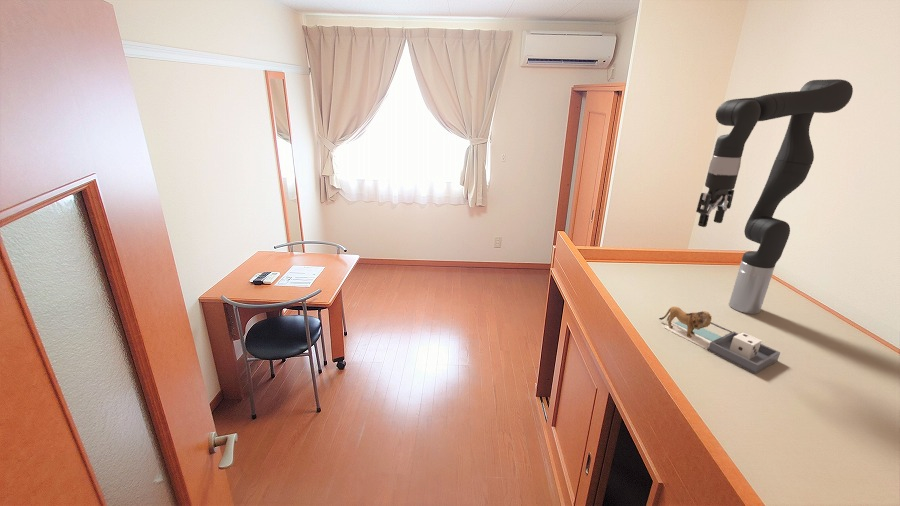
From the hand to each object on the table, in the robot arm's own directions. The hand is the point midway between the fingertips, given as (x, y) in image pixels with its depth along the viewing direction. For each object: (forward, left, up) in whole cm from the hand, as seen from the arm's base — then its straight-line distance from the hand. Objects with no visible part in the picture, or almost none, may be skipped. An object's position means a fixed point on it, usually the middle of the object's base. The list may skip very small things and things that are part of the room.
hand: (709, 224), depth 124 cm
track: (+5, +7, -33) cm, 34 cm away
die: (+7, +21, -32) cm, 39 cm away
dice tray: (+7, +21, -33) cm, 40 cm away
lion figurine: (+10, +5, -33) cm, 35 cm away
